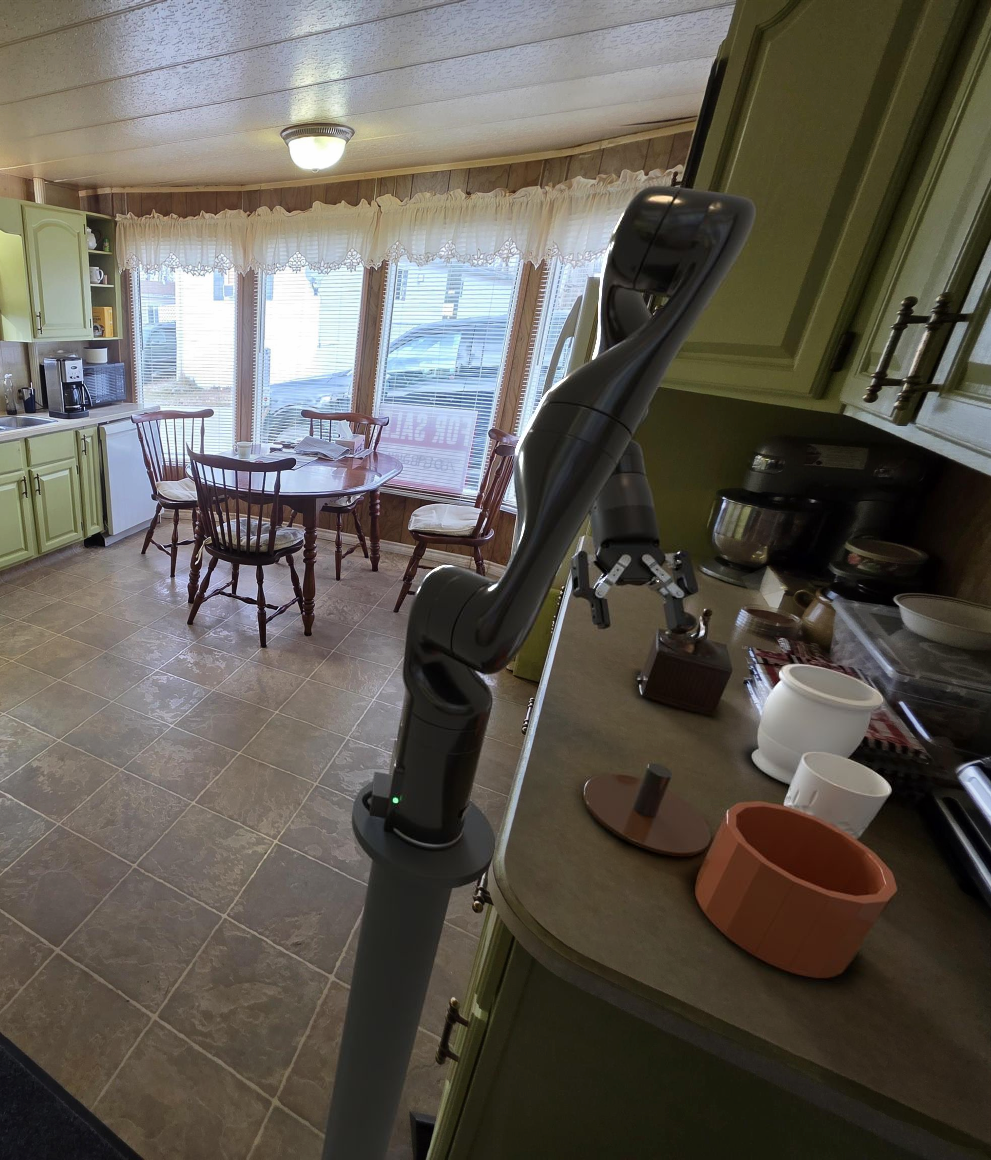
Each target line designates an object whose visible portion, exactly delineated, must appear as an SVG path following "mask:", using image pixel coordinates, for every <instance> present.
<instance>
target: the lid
mask: <svg viewBox="0 0 991 1160" xmlns="http://www.w3.org/2000/svg"><path fill="white" fill-rule="evenodd" d="M672 777H673V772H672V771H671V769H669V768H668V767H666V766H664V765H662V764H659V763H648V764H647V766H646V769H645V773H644V774H643V777H642V778H639V777H636V776H631V775H627V774H626V775H625V774H621V773H619V774H618V773H606V774H605V773H603V774H599V775H596V776H593V777H592V778H590V779H589V780H587V782H586V783H585V785H584V787H583V790H582V797H583V801H584V804H585V806H586V807H587V809H588V811H589V812H590V814H591V815H592V816H593V817H594V818H595V819H596V820H597V821H598V822H599V823H600V824H601V825H602V826H603V827H605V828H606V829H607V830H609V831H610V832H611V833H612V834H614V835H616V836H617V837H619V838H621V839H622V840H624V841H626V842H628V843H630V844H632V845H634V846H637V847H639V848H641V849H644V850H647V851H650V852H653V853H657V854H660V855H665V856H671V857H691V856H695V855H698V854H700V853H702V852H704V851H705V850H706V849H707V847H708V846H709V844H710V841H711V830H710V827H709V826H708V823H707V822H706V820H705V818H704V817H703V816H702V815H701V814H700V813H699V812H698V811H697V810H696V809H695V808H694V807H693V806H692V805H691V804H690V803H688V802H687V801H686V800H684V799H683V798H682V797H680V796H679V795H677V794H675V793H674V792H672V791H670V790H668V788H669V785H670V783H671V780H672Z"/></svg>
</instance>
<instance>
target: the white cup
mask: <svg viewBox="0 0 991 1160" xmlns="http://www.w3.org/2000/svg"><path fill="white" fill-rule="evenodd" d="M892 790H893V789H892V787H891V785H890V783H889V782H888V781H887V780H886V779H885V778H884V777H883V776H882V775H880V774H878V773H877V772H876V771H874V770H873V769H871V768H870V767H868V766H865V765H863V764H862V763H859V762H857V761H855V760H852V759H850V758H844V757H841V756H838V755H834V754H829V753H824V752H808V753H805V754H804V755H803V756H802V758H801V761H800V763H799V766H798V768H797V770H796V773H795V775H794V778H793V780H792V782H791V785H789V788H788V790H787V793H786V796H785V797H784V801H783V806H787V807H790V808H792V809H795V810H798V811H801V812H804V813H806V814H809V815H812V816H815V817H817V818H819V819H821V820H823V821H825V822H827V823H829V824H831V825H833V826H835V827H837V828H838V829H840V830H842V831H844V832H846V833H848V834H849V835H851V836H852V837H854V838H855V839H856V840H858V839H859V838H860V837H862V835H863V833H864V832H865V831H866V829H867V828H868V827H869V826H870V823H871V822H872V821H873V820H874V819H875V817H876V816H877V814H878V813H879V811H880V810H881V808H882V807H883V805H884V804H885V803H886V801H887V800H888V798H889V797H890V795H891V794H892Z"/></svg>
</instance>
